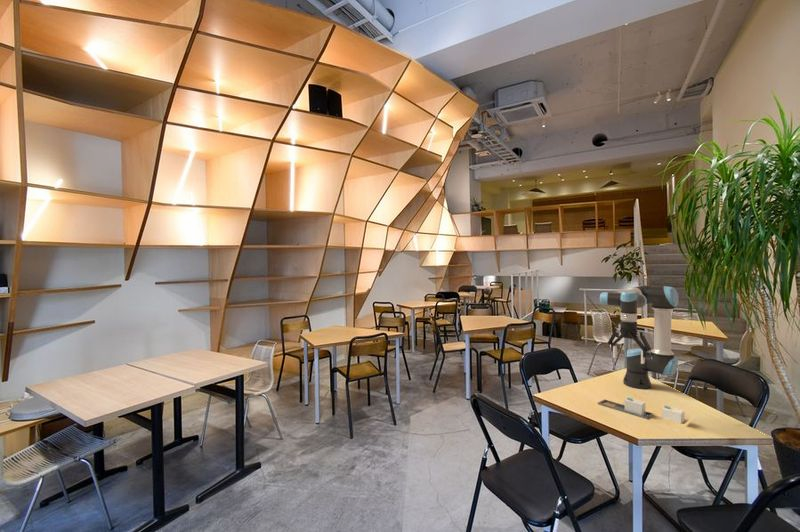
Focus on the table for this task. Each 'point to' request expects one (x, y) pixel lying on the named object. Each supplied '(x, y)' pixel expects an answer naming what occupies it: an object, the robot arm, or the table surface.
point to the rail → (622, 408)
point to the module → (672, 414)
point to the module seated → (635, 406)
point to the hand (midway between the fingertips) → (628, 360)
